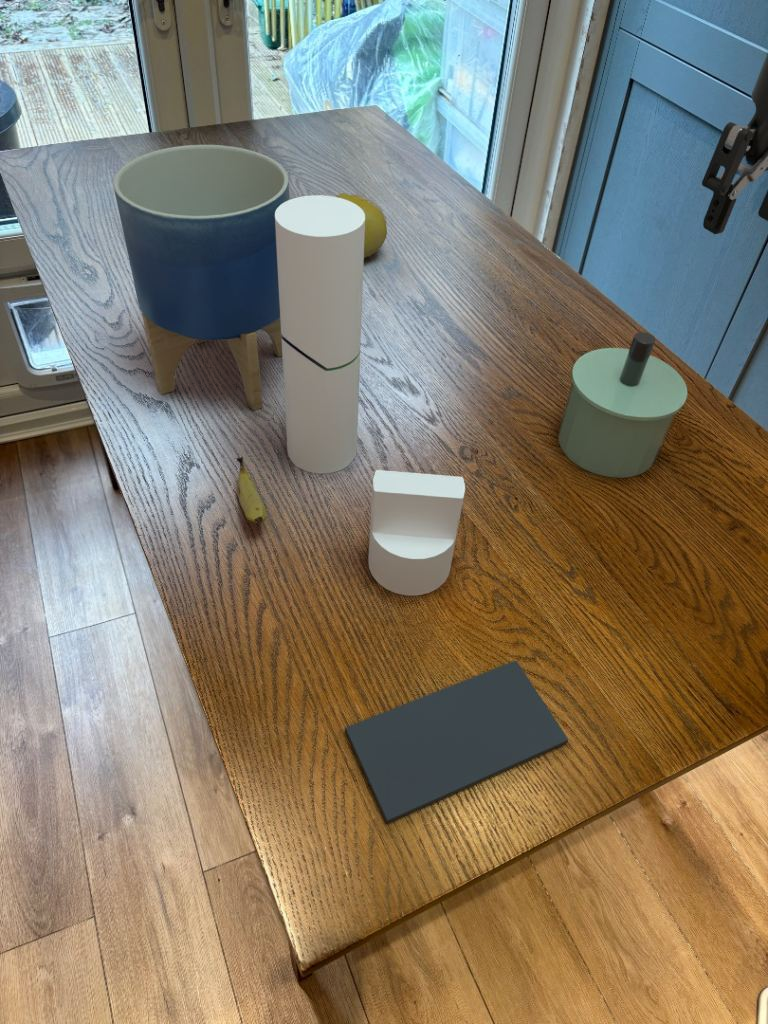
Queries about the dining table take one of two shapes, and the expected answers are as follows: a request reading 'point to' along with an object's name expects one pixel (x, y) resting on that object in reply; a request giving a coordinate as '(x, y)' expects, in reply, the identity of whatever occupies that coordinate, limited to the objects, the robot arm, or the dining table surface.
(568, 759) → the dining table surface
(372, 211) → the fruit
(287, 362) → the container
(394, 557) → the base with upright slab
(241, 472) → the banana
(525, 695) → the mat
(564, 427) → the pot
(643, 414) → the lid
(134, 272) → the planter
